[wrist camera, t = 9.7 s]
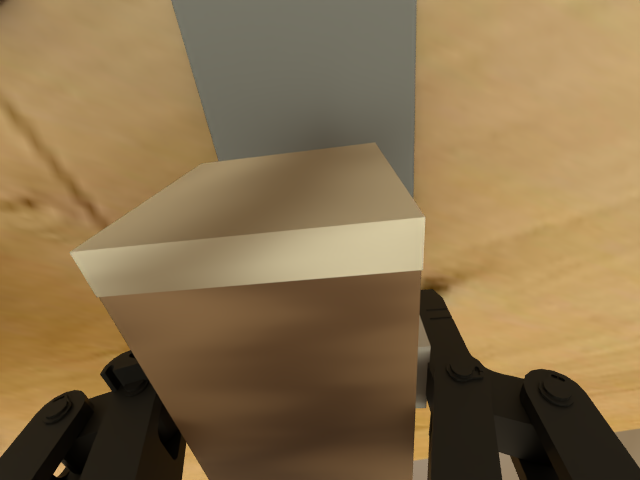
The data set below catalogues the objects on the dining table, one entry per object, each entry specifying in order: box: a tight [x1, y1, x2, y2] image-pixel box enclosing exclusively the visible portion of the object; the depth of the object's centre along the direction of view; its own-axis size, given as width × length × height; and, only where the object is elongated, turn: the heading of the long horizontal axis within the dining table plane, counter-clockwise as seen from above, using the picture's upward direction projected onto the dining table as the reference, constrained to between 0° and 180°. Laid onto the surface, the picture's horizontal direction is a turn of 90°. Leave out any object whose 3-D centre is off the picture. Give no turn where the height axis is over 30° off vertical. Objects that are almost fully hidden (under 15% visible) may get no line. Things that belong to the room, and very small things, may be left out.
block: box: [70, 143, 425, 480], centre depth 11 cm, size 6×6×13 cm
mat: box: [171, 0, 416, 198], centre depth 23 cm, size 16×18×1 cm
